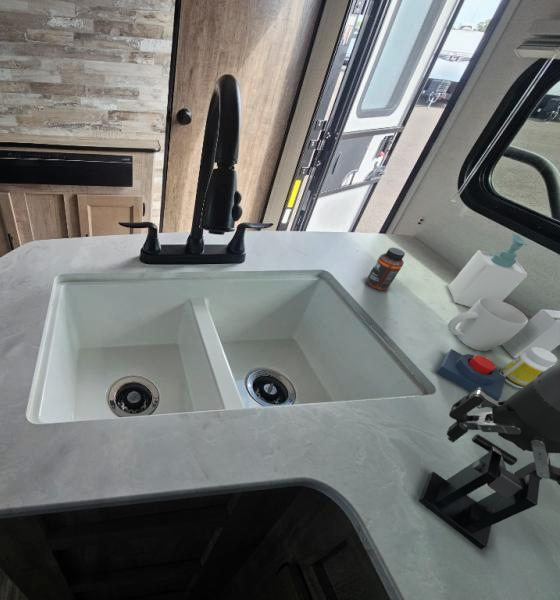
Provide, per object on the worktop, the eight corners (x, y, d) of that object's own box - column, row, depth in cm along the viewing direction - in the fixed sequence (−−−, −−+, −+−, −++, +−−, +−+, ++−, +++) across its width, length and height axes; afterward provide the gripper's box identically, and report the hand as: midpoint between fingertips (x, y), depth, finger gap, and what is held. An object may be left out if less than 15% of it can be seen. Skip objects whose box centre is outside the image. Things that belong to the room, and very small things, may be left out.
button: (470, 357, 70) (476, 352, 68) (490, 368, 68) (497, 363, 67) (466, 366, 68) (472, 360, 66) (487, 377, 66) (494, 372, 64)
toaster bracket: (428, 474, 53) (480, 437, 45) (488, 517, 49) (556, 484, 41) (417, 501, 50) (472, 466, 42) (480, 549, 45) (553, 521, 38)
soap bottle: (481, 295, 95) (535, 237, 83) (490, 313, 89) (550, 253, 77) (447, 286, 98) (494, 228, 85) (454, 302, 91) (506, 242, 79)
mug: (477, 330, 83) (508, 300, 76) (503, 357, 76) (539, 326, 69) (427, 324, 83) (453, 293, 76) (449, 351, 76) (479, 319, 70)
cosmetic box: (524, 347, 79) (569, 310, 71) (539, 362, 76) (587, 324, 68) (499, 344, 79) (540, 307, 71) (512, 359, 76) (558, 321, 68)
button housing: (444, 355, 75) (456, 343, 72) (498, 383, 69) (512, 371, 67) (435, 372, 70) (447, 360, 68) (492, 404, 65) (507, 393, 62)
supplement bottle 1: (391, 287, 94) (414, 253, 87) (381, 293, 92) (403, 259, 84) (371, 276, 98) (391, 243, 91) (361, 282, 95) (381, 248, 88)
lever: (468, 440, 53) (479, 430, 52) (507, 465, 50) (519, 454, 49) (474, 477, 44) (487, 465, 43) (521, 509, 41) (537, 497, 40)
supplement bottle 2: (531, 391, 69) (567, 365, 63) (508, 387, 69) (541, 361, 64) (516, 373, 72) (548, 347, 67) (493, 369, 73) (524, 343, 67)
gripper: (500, 378, 43) (425, 439, 53) (660, 462, 36) (537, 514, 46) (507, 351, 47) (437, 412, 58) (652, 421, 40) (541, 477, 50)
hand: (481, 457), depth 52 cm, fingers open, 8 cm apart
